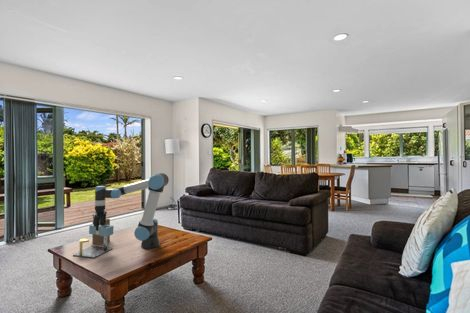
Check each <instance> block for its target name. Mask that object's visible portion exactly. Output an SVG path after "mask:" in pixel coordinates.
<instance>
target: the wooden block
mask: <svg viewBox="0 0 470 313" xmlns="http://www.w3.org/2000/svg"><path fill="white" fill-rule="evenodd" d="M92 224H94V221H93V220H92ZM99 225H100V223H99ZM105 225H111V219H110V218H106V223H105ZM91 235H92V239H91V240H92V242H91V243H92V244H96V245H104V237H105V236H100V235H95V234H91ZM110 238H111V235H110V236H108V237H107V243H108V242H110V240H111V239H110Z"/></svg>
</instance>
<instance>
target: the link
mask: <svg viewBox="0 0 470 313" xmlns="http://www.w3.org/2000/svg"><path fill="white" fill-rule="evenodd" d="M99 226H100V236H105V237H108V236H110V237H111V236H112V235H114V228H115V227H114V225H111V224H110V225H99ZM88 232H89V233H88V234H89V235H92V234H95V235H96V227H95V226H94V224H93V223H92V224H89V229H88Z"/></svg>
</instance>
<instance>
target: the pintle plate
mask: <svg viewBox="0 0 470 313" xmlns="http://www.w3.org/2000/svg"><path fill="white" fill-rule="evenodd" d="M89 242H90V239H89V237H86V238H80V239H79V251H78V252H76V253H73V254H72V257H79V258H87V259H96V258H98V257H100V256H101V255H104V254H106V253H108V252H110V251H112V250H113V247H108V242H107V237H104V243H103V246H97V245H91V246H88V247H87V248H85V249H83V244H84V243H89Z"/></svg>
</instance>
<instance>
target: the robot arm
mask: <svg viewBox="0 0 470 313" xmlns="http://www.w3.org/2000/svg"><path fill="white" fill-rule="evenodd" d="M169 180H170V179H169V176H168V174H166V173H163V172H161V173H155V174H153V175H151V176H149V178H148V179H143V180H141V181H136V182H133V183H130V184H125V185H121V186H119V187H114V188H106V185H97V186H95V189H94V211H95V213H94V214H92V218H93V220H92V222H93V221H94V226H95V227H96V235H100V226H99V223H100V225H105V223H106V219H107V213H108V211H105V210H106V199H119V198H120V197H121V196H124V195H128V194H132V193H136V192H138V191H139V192H140V191H143V190H147V189H148V191H149V192H148V196H147V200H146V203H145V206H144V211H143V215H142V218H141V219H140V220H139V221H138V224H137V227H136V228H135V230H134V231H133V233H134V237H135V238H136V240H138V241H141V243H140V247H141V249H145V250H151V249H155V248H158V247H160V244H161V243H160V238H159V234H158V232H159V231H158V228H159V226H158V224H159V221H158V219H156V218H154V217H155V216H156V210H157V206H158V203H159V200H160V196H161V193H163V192H164V188H165V187H166V186H167V185H168V184H169Z"/></svg>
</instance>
